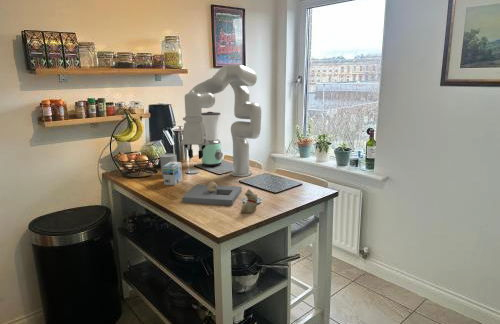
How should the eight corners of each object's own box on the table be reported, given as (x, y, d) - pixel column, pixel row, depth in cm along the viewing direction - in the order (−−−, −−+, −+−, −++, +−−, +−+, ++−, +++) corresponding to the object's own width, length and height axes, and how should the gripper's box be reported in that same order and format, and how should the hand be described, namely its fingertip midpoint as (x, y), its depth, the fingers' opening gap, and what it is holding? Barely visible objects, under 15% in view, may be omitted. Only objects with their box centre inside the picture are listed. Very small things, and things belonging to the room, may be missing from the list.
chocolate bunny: (259, 212, 150) (259, 190, 147) (241, 213, 149) (240, 191, 146) (257, 207, 155) (256, 186, 153) (239, 209, 154) (239, 187, 152)
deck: (197, 188, 182) (196, 184, 181) (241, 191, 177) (241, 186, 177) (182, 202, 163) (182, 197, 162) (232, 205, 158) (232, 200, 158)
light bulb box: (175, 185, 188) (173, 166, 185) (163, 185, 189) (162, 165, 187) (182, 179, 198) (181, 161, 196) (171, 179, 199) (170, 161, 197)
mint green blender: (228, 164, 231) (226, 111, 223) (215, 168, 221) (213, 113, 212) (206, 160, 242) (204, 110, 233) (193, 164, 231) (190, 112, 222)
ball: (208, 189, 172) (208, 180, 171) (218, 190, 172) (218, 180, 170) (205, 193, 168) (205, 183, 166) (215, 193, 167) (215, 183, 166)
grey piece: (181, 174, 209) (179, 154, 206) (169, 178, 201) (168, 157, 198) (169, 172, 214) (168, 152, 211) (158, 176, 206) (156, 155, 203)
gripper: (173, 120, 161) (176, 159, 165) (208, 121, 157) (210, 160, 162) (180, 118, 168) (182, 155, 172) (213, 119, 165) (214, 156, 169)
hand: (195, 157), depth 167 cm, fingers open, 4 cm apart
